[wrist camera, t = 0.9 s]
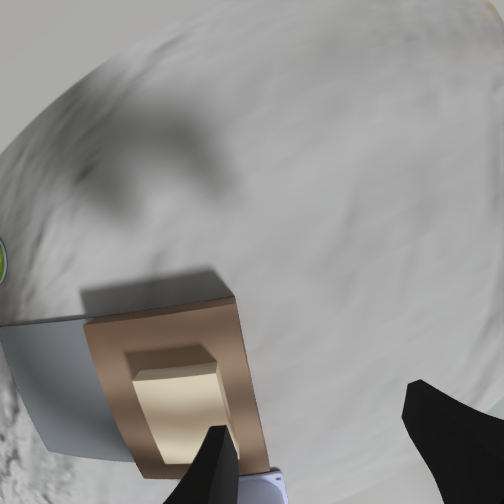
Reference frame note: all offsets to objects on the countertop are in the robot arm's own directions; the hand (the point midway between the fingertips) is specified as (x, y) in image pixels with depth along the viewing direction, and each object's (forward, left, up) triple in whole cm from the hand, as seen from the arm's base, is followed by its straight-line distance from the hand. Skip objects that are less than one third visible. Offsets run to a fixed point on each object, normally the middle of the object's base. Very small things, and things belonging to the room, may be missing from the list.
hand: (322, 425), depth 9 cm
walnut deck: (-5, +9, -14) cm, 17 cm away
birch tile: (-5, +8, -11) cm, 14 cm away
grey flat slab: (-5, +22, -14) cm, 26 cm away
